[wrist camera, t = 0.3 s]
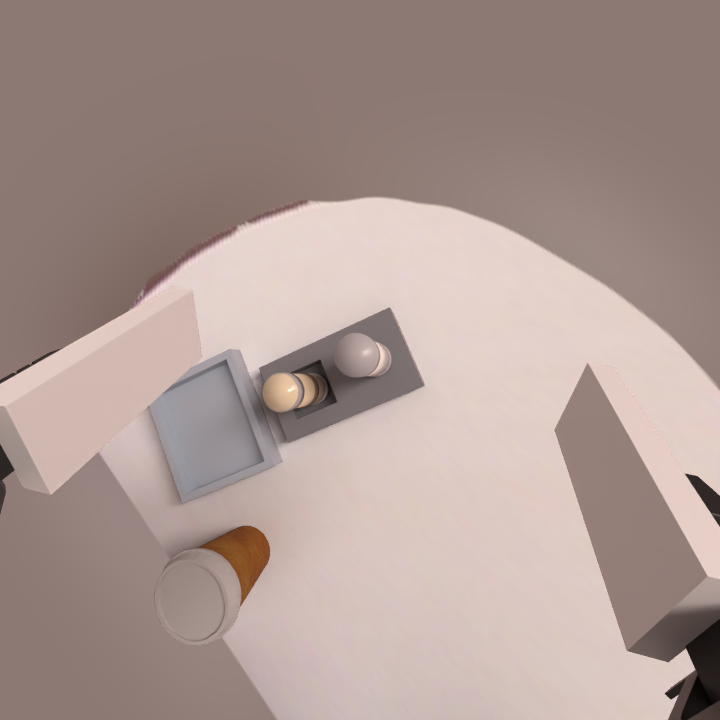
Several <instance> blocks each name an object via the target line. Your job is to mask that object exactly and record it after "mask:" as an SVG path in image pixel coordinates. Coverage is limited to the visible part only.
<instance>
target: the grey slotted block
mask: <svg viewBox="0 0 720 720" xmlns="http://www.w3.org/2000/svg"><path fill="white" fill-rule="evenodd" d="M259 369H260V372H261V375H262V377H263V380H264V382H265V381H266V379H267V378H268V377H269V376H271V375H272V374H275V373H292V374H297V373H305V374H308V373H318V374H321V375H323V376H324V377H325V378H326V379H327V380H328V382H329V385H330V393H329V396H328V397H327V399H326V400H325V401H324V402H322V403H320V404H316V405H309V406H306V407H301V408H296V409H294V410H291V411H287V412H281V413H280V412H276V413H277V416H278V419H279V421H280V424H281V426H282V429H283V432H284V434H285V437H286V439H287V442H288V443H289V442H291V441H293V440H296V439H298V438H301V437H303V436H305V435H308V434H310V433H313V432H315V431H317V430H320V429H322V428H324V427H327V426H329V425H332V424H334V423H336V422H339V421H341V420H344V419H346V418H348V417H351V416H353V415H356V414H358V413H360V412H363V411H365V410H367V409H370V408H372V407H375V406H377V405H379V404H382V403H384V402H387V401H389V400H391V399H394V398H396V397H399V396H401V395H403V394H406V393H408V392H410V391H413V390H415V389H418V388H420V387H422V386H425V384H424V382H423V380H422V377H421V375H420V373H419V370H418V368H417V366H416V364H415V361H414V359H413V357H412V354H411V352H410V350H409V348H408V345H407V343H406V341H405V338H404V336H403V334H402V332H401V329H400V327H399V325H398V322H397V320H396V318H395V316H394V313H393V311H392V310H391V309H390V308H387V309H385V310H383V311H381V312H379V313H377V314H374V315H372V316H370V317H368V318H366V319H364V320H362V321H359V322H357V323H355V324H353V325H351V326H349V327H346V328H344V329H342V330H340V331H338V332H336V333H334V334H331V335H329V336H327V337H325V338H323V339H321V340H318V341H316V342H314V343H312V344H310V345H308V346H305V347H303V348H301V349H299V350H297V351H295V352H293V353H290V354H288V355H286V356H284V357H282V358H280V359H277V360H275V361H273V362H271V363H269V364H267V365H265V366H262V367H260V368H259Z"/></svg>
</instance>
